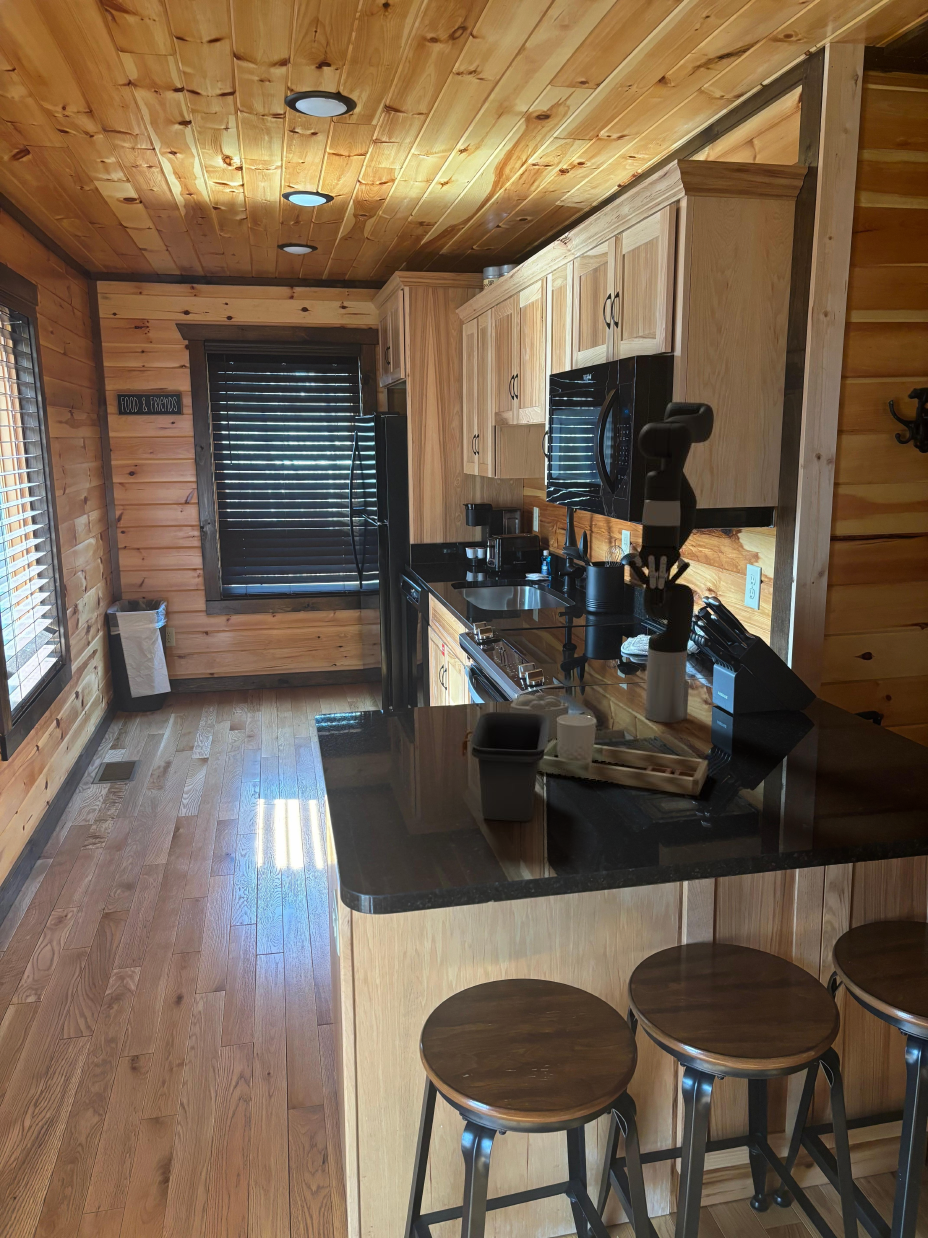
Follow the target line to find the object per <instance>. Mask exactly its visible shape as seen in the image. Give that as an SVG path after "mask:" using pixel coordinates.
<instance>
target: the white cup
mask: <svg viewBox="0 0 928 1238" xmlns="http://www.w3.org/2000/svg"><path fill="white" fill-rule="evenodd" d="M596 724H597V720H596V718H594V716H593V717H592V716H589V715H585V714H577V713H574V714H573V713H568V715H562V716H559V717H558V718H557V742H558V745H557V747H558V754H559V755H557V756H558V758H562V759H568V760H575V761H582V762H589V763H593V760H592V755H593V750H594V745H595V736H596Z"/></svg>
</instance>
